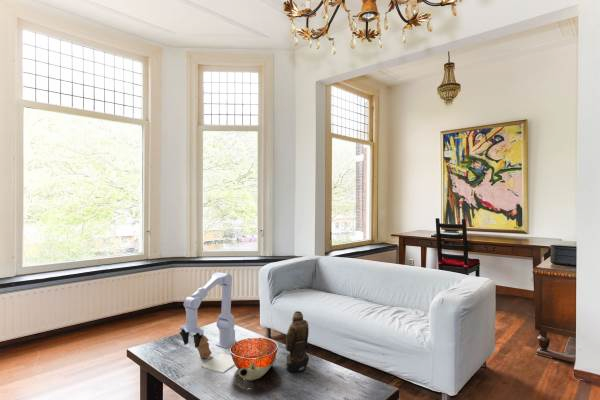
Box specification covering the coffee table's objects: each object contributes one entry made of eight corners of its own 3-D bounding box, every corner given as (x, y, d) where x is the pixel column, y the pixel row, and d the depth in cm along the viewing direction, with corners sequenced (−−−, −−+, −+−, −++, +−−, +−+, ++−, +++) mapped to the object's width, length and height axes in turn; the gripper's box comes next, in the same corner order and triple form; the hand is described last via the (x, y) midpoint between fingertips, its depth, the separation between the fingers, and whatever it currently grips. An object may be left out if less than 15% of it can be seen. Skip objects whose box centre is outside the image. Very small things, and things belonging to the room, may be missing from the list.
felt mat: (221, 354, 194) (221, 353, 194) (241, 359, 188) (241, 358, 188) (201, 366, 180) (201, 365, 180) (222, 373, 173) (222, 372, 173)
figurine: (212, 355, 192) (212, 328, 192) (206, 362, 184) (206, 334, 184) (197, 354, 193) (197, 328, 193) (191, 361, 185) (191, 334, 185)
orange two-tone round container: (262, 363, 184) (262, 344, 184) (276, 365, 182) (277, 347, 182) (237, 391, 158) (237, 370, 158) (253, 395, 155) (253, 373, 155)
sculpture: (299, 362, 188) (297, 306, 189) (313, 370, 178) (311, 311, 179) (279, 368, 180) (278, 310, 182) (293, 377, 170) (291, 315, 172)
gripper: (175, 320, 181) (175, 345, 181) (196, 325, 175) (196, 351, 175) (185, 315, 187) (185, 340, 188) (206, 320, 181) (206, 346, 181)
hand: (191, 345), depth 182 cm, fingers open, 7 cm apart
